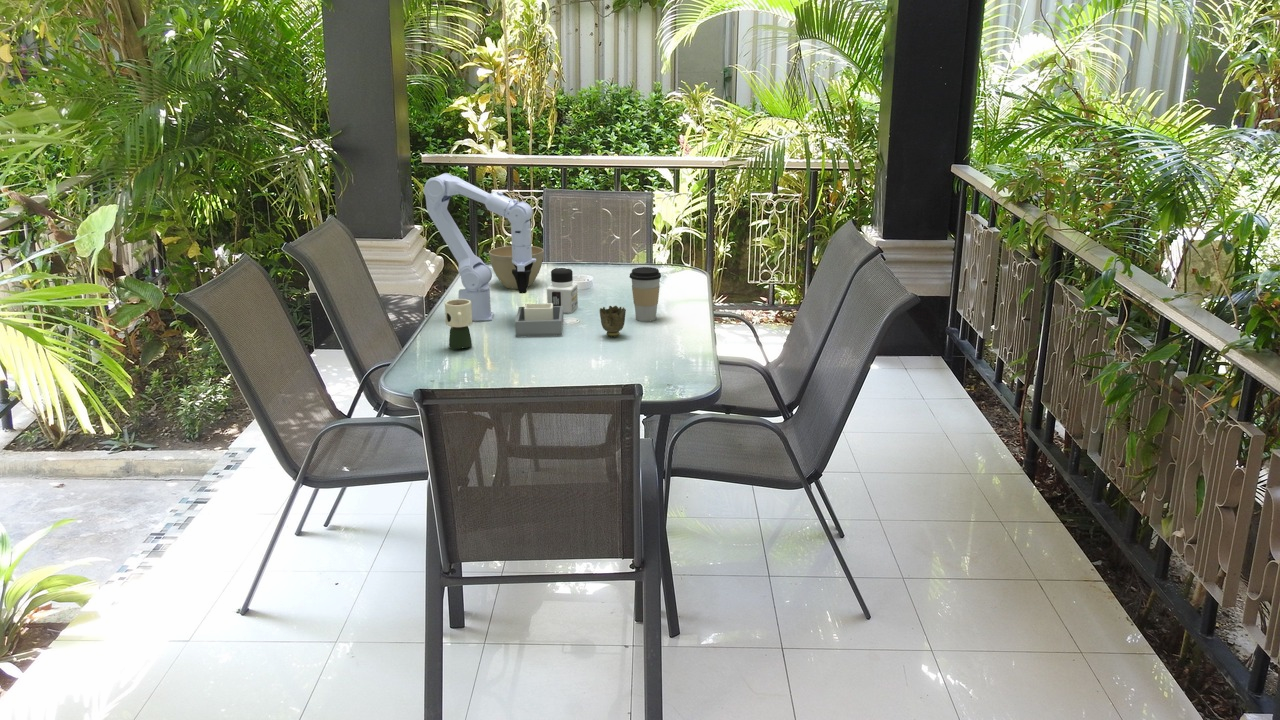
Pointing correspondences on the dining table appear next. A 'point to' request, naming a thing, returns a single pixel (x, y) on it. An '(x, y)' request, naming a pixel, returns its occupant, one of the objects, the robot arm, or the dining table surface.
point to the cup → (612, 320)
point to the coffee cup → (645, 292)
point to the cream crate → (538, 312)
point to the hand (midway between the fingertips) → (523, 289)
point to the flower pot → (512, 265)
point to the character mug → (459, 322)
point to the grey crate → (539, 324)
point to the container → (563, 290)
